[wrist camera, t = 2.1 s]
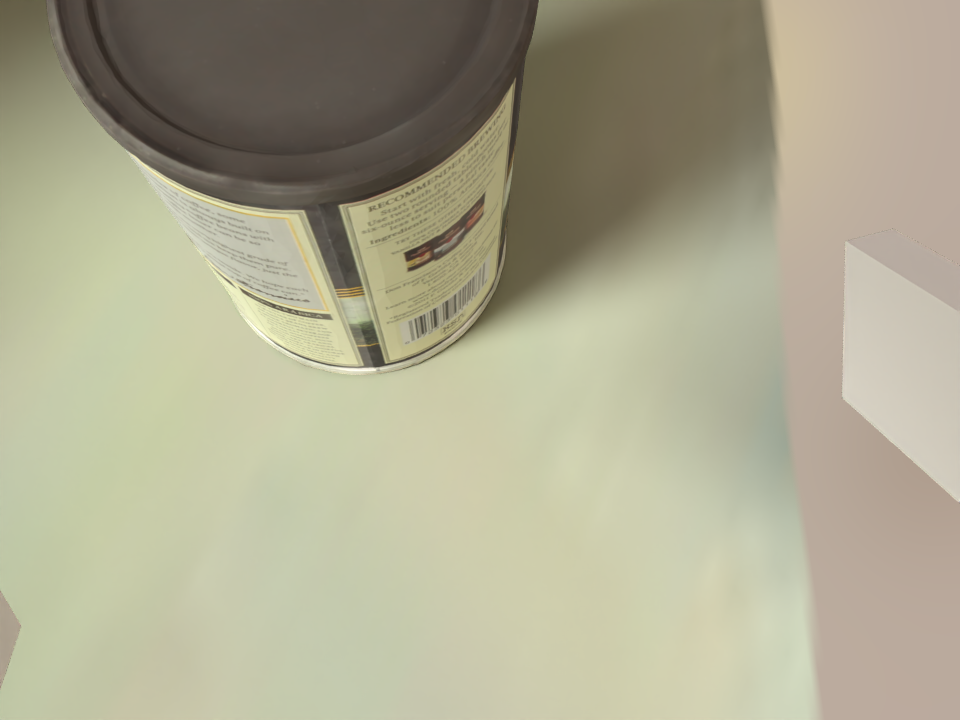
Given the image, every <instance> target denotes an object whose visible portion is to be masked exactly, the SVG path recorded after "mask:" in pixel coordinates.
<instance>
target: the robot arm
mask: <svg viewBox="0 0 960 720" xmlns="http://www.w3.org/2000/svg"><path fill="white" fill-rule="evenodd" d="M844 281H845V282H844V283H845V285H844V328H843V376H842V398H843V399H844V400H845V401H846V402H848V404H850V405H851V406H852V407H853V408H854V409H855V410H856V411H857V412H858V413H860V414H861V415H862V416H863V417H864V418H865V419H867V421H869V422H870V423H871V424H872V425H873V426H874V427H875V428H876V429H877V430H878V431H880V432H881V433H882V434H883V435H884V436H885V437H886V438H887V439H888V440H890V441H891V442H892V443H893V444H894V445H895V446H896V447H897V448H899V449H900V450H901V451H902V452H903V453H904V454H905V455H906V456H907V457H909V458H910V459H911V460H912V461H913V462H914V463H915V464H916V465H917V466H919V467H920V468H921V469H922V470H923V471H924V472H925V473H926V474H927V475H929V476H930V477H931V478H932V479H933V480H934V481H935V482H936V483H937V484H939V485H940V486H941V487H942V488H943V489H944V490H945V491H946V492H948V493H949V494H950V495H951V496H952V497H953V498H954V499H955V500H956V501H958V502H959V503H960V265H958V264H956V263H955V262H953V261H951V260H949V259H947V258H945V257H944V256H942V255H940V254H938V253H937V252H935V251H933V250H931V249H929V248H927V247H926V246H924V245H922V244H920V243H919V242H916V241H915V240H913V239H911V238H910V237H908V236H906V235H904V234H902V233H901V232H899V231H897V230H895V229H890V230H886V231H882V232H878V233H874V234H871V235H867V236H863V237H859V238H856V239H852V240H848V241H845V280H844ZM20 628H21V624H20V623H19V621H18V619H17V618H16V616H15V614H14V613H13V611H12V609H11V608H10V606H9V604H8V603H7V601H6V599H5V598H4V596H3V594H2V593H1V591H0V689H1V686H2V683H3V680H4V677H5V674H6V671H7V668H8V665H9V662H10V659H11V655H12V652H13V649H14V646H15V643H16V640H17V637H18V634H19V631H20Z"/></svg>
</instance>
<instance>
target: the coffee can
mask: <svg viewBox="0 0 960 720" xmlns="http://www.w3.org/2000/svg"><path fill="white" fill-rule="evenodd" d="M538 2H539V0H46V4H47V14H48V21H49V27H50V33H51V37H52V40H53V43H54V46H55V49H56V52H57V55H58V58H59V61H60V63H61V66H62V69H63V70H64V72H65V74H66V76H67V78H68V80H69V81H70V83H71V85H72V86H73V88H74V90H75V91H76V93H77V94H78V96H79V97H80V99H81V101H82V102H83V104H84V105H85V106H86V108H87V109H88V110H89V111H90V113H91V114H92V115H93V116H94V118H95V119H96V120H97V121H98V122H99V123H100V125H101V126H102V127H103V128H104V129H105V130H106V131H107V133H108V134H109V135H110V136H112V137H113V138H114V139H115V140H116V141H117V142H118V143H119V144H120V145H121V146H122V147H124V149H125V150H126V151H127V153H128V154H129V156H130V157H131V158H132V160H133V161H134V162H135V164H136V165H137V166H138V168H139V169H140V171H141V172H142V173H143V175H144V176H145V178H146V179H147V181H148V182H149V183H150V185H151V186H152V187H153V189H154V190H155V191H156V193H157V194H158V195H159V197H160V198H161V200H162V201H163V203H164V204H165V205H166V207H167V208H168V210H169V211H170V212H171V214H172V215H173V216H174V218H175V219H176V221H177V222H178V223H179V225H180V226H181V228H182V229H183V230H184V232H185V233H186V234H187V236H188V237H189V239H190V240H191V242H192V243H193V245H194V246H195V248H196V249H197V250H198V252H199V253H200V254H201V255H202V257H203V258H204V260H205V261H206V262H207V264H208V265H209V267H210V268H211V269H212V271H213V272H214V274H215V275H216V276H217V278H218V279H219V280H220V282H221V283H222V285H223V286H224V287H225V289H226V290H227V292H228V293H229V295H230V297H231V299H232V301H233V303H234V304H235V306H236V308H237V309H238V311H239V313H240V314H241V316H242V317H243V318H244V320H245V321H246V322H247V323H248V325H249V326H250V327H251V328H252V329H253V330H254V331H255V332H256V334H257V335H258V336H259V337H261V338H262V339H263V340H264V341H266V342H267V343H268V344H269V345H271V346H272V347H274V348H275V349H276V350H278V351H279V352H281V353H283V354H284V355H286V356H288V357H290V358H292V359H294V360H296V361H298V362H299V363H301V364H303V365H305V366H309V367H313V368H318V369H321V370H325V371H328V372H333V373H341V374H351V375H368V374H380V373H385V372H391V371H395V370H399V369H403V368H406V367H409V366H411V365H417V364H419V363H420V362H422V361H424V360H426V359H428V358H430V357H432V356H433V355H435V354H437V353H439V352H440V351H442V350H444V349H445V348H446V347H448V346H449V345H450V344H452V343H453V342H455V341H456V340H457V339H458V338H459V337H461V336H462V335H463V334H464V333H465V332H466V331H467V330H468V329H469V328H470V327H471V326H472V325H473V323H474V322H475V321H476V320H477V319H478V317H479V316H480V315H481V313H482V312H483V311H484V309H485V307H486V306H487V304H488V302H489V301H490V299H491V297H492V295H493V293H494V292H495V290H496V288H497V285H498V283H499V280H500V276H501V272H502V269H503V265H504V260H505V253H506V227H507V215H508V206H509V197H510V187H511V179H512V170H513V160H514V151H515V142H516V133H517V128H518V117H519V109H520V100H521V90H522V82H523V72H524V63H525V56H526V53H527V50H528V47H529V44H530V41H531V38H532V34H533V30H534V25H535V19H536V14H537V8H538Z"/></svg>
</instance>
